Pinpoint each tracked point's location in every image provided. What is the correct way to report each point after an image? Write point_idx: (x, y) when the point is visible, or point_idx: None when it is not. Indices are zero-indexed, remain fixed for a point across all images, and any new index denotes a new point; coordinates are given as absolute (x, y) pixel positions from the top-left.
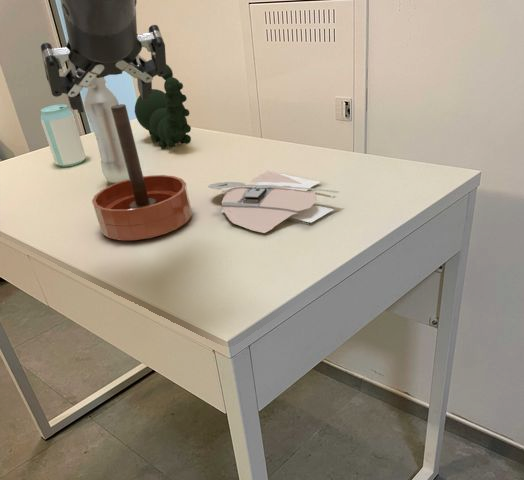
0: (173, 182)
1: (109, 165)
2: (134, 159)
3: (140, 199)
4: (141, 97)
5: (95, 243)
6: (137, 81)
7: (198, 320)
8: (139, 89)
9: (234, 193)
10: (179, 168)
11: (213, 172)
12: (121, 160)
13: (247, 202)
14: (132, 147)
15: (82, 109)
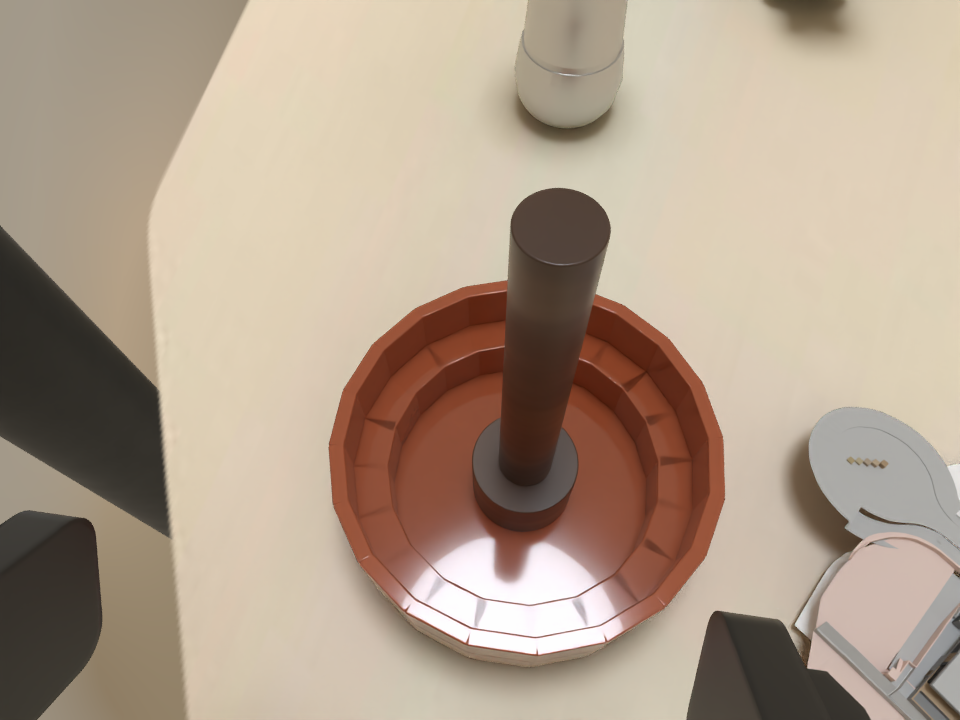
0: (685, 400)
1: (537, 71)
2: (543, 411)
3: (515, 476)
4: (692, 709)
5: (312, 513)
6: (742, 671)
7: None
8: (714, 697)
9: (894, 570)
10: (760, 127)
11: (861, 230)
12: (581, 72)
13: (926, 717)
14: (553, 385)
15: (50, 694)
